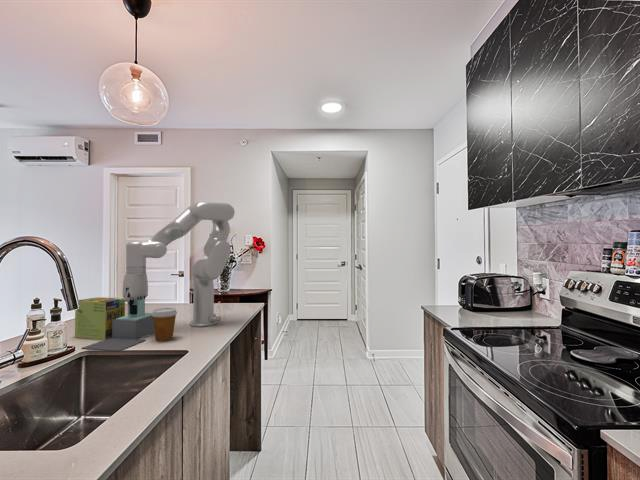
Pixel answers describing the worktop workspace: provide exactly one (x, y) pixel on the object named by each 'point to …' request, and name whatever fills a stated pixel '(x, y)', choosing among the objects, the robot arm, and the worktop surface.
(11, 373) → the worktop surface
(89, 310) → the protein box
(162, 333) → the disposable coffee cup
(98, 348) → the mat
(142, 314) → the lid
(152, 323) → the box
